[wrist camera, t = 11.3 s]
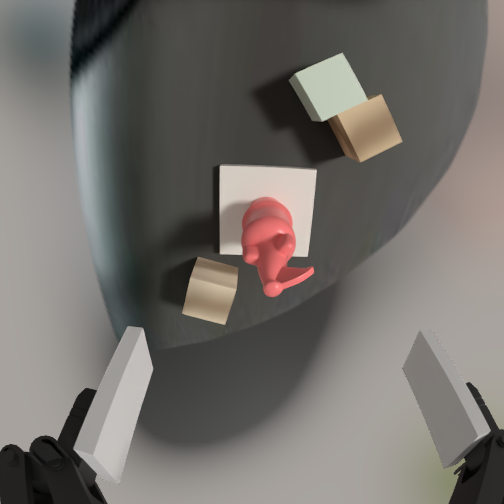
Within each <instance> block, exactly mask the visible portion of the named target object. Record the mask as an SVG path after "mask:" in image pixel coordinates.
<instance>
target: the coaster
mask: <svg viewBox="0 0 504 504" xmlns="http://www.w3.org/2000/svg"><path fill="white" fill-rule="evenodd" d="M316 172H317V170H316V169H315V168H301V167H285V166H264V165H229V164H221V165H220V254H235V255H242V250H243V249H242V245H241V237H242V233H243V229H242V219H243V216H244V214H245V212H246V211H247V209H248V208H249V207H250V205H251V204H252V203H253V202H254V201H255V200H256V199H258V198H261V197H271V198H274V199H276V200H277V201H279V202H280V203H281V204H283V205H284V206H285V207H286V208H287V209H288V210H289V212H290V214H291V216H292V221H293V226H292V229H293V231H294V234H295V238H296V247H295V251H294V253H293V255H292V256H301V257H308V249H309V241H310V232H311V223H312V214H313V204H314V194H315V183H316Z"/></svg>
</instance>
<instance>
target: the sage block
mask: <svg viewBox="0 0 504 504" xmlns="http://www.w3.org/2000/svg"><path fill="white" fill-rule="evenodd" d="M289 82H290V83H291V85H292V87H293V88H294V90H295V92H296V94H297V95H298V97H299V99H300V100H301V102H302V104H303V106H304V107H305V109H306V111H307V113H308V115H309V116H310V118H311V120H312V121H321V122H322V121H324V120H327V119H329V118H331V117H333V116H335V115H337V114H339V113H341V112H343V111H345V110H348V109H350V108H352V107H354V106H356V105H359V104H361V103H363V102H365V101H368V99H367V97H366V95H365V93H364V91H363V89H362V87H361V86H360V84H359V82H358V80H357V78H356V76H355V74H354V73H353V71H352V69H351V67H350V65H349V64H348V62H347V60H346V58H345V57H344V55H343V53H341V54H339V55H336V56H334V57H332V58H329V59H327V60H324V61H322V62H320V63H317V64H315V65H313V66H310V67H308V68H306V69H304V70H302V71H299V72H297V73H295V74H294V75H293V76H292V77H291V78H290V79H289Z"/></svg>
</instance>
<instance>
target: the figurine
mask: <svg viewBox="0 0 504 504" xmlns="http://www.w3.org/2000/svg"><path fill="white" fill-rule="evenodd" d="M292 226H293V221H292V216H291V214H290V212H289V210H288V209H287V208H286V207H285V206H284V205H283V204H281V203H280V202H279V201H277V200H276V199H274V198H271V197H261V198H258V199H256V200H255V201H254V202H253V203H252V204H251V205H250V207H249V208H248V209H247V211H246V212H245V214H244V216H243V219H242V229H243V233H242V237H241V245H242V249H243V250H242V255H243V259H244V261H245V262H246V263H248V264H251V265H255V266H257V268H258V273H259V276H260V279H261V281H262V283H263V285H264V286H263V291H264V293H265V294H266V295H267V296H269V297H275V296H277V295H279V294H280V293H281V292H282V290H283V289H285V288H288V287H291V286H293V285H296V284H298V283H300V282H302V281H304V280H305V279H307V278H308V277H309V276H311V275H312V274H313V273H314V269H313V267H308V268H292V267H287V261H288V260H289V259H290V258H291V257H292V255H293V253H294V251H295V247H296V238H295V234H294V231H293V229H292Z"/></svg>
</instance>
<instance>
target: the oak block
mask: <svg viewBox="0 0 504 504" xmlns="http://www.w3.org/2000/svg"><path fill="white" fill-rule="evenodd" d="M366 97H367V99H368V101H365V102H363V103H361V104H359V105H356V106H354V107H352V108H350V109H348V110H345V111H343V112H341V113H339V114H337V115H335V116H333V117H331V118H329V119H327V120H328V122H329V124H330V126H331V128H332V130H333V132H334V134H335V136H336V138H337V140H338V142H339V144H340V146H341V148H342V150H343V152H344V154H345V156H347V157H350V158H352V159H354V160H356V161H358V162H362V161H364V160H366V159H368V158H370V157H372V156H374V155H376V154H378V153H380V152H382V151H384V150H386V149H388V148H390V147H392V146H394V145H396V144H398V143H400V142H402V140H401V137H400V135H399V132H398V130H397V128H396V125H395V123H394V121H393V118H392V116H391V114H390V112H389V110H388V107H387V105H386V103H385V101H384V99H383V97H382V95H373V96H366Z"/></svg>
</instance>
